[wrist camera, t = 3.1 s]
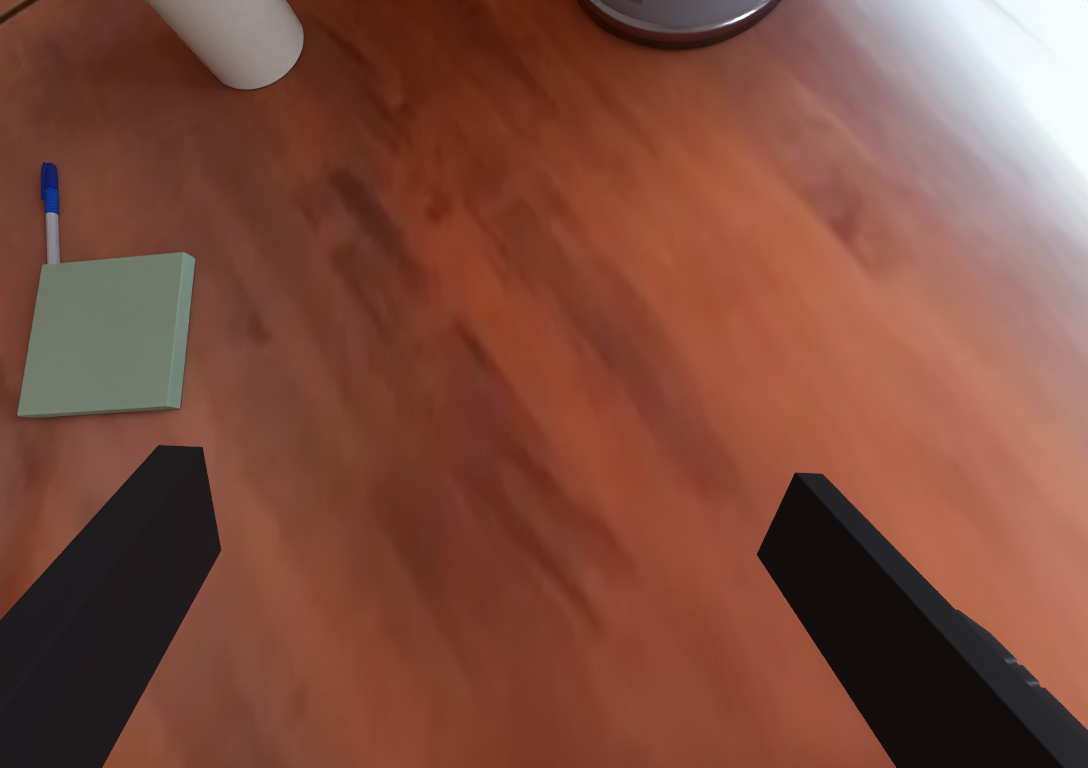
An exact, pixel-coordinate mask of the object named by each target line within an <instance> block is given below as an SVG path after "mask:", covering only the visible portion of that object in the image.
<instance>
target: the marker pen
mask: <svg viewBox="0 0 1088 768" xmlns="http://www.w3.org/2000/svg"><path fill="white" fill-rule="evenodd" d="M41 199H42V200H43V199H44V205H45V206H44V207H45V214H46V234H47V262H48V264H57V263H60V248H59V223H58V215H59V212H58V211H59V207H58V206H59V205H58V204H59V202H58V201H59V200H58V199H59V198H58V176H57V169H56V166H55V165H54V164H52V163H45V162H44V163H43V164H42V169H41Z"/></svg>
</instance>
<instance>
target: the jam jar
mask: <svg viewBox="0 0 1088 768" xmlns="http://www.w3.org/2000/svg"><path fill="white" fill-rule="evenodd" d="M145 1H146V2H147V3H148V4H149V6H150V7H151V8H152V9H153V10H154V11H155V12H156V13H157V14H158V15H159V16H160V17H161V18H162V20H163V21H164V22H165V23H166V24H167V25H168V26H169V27H170V28H171V29H172V30H173V31H174V32H175V34H176V35H177V36H178V37H179V38H180V39H181V40H182V41H183V42H184V43H185V44H186V45H187V47H188V48H189V49H190V50H191V51H192V52H193V53H194V54H195V55H196V56H197V57H198V58H199V59H200V61H201V62H202V63H203V64H204V65H205V66H206V67H207V68H208V69H209V70H210V71H211V72H212V73H213V75H214V76H215V77H216V78H217V79H218V80H219V81H221V82H222V83H223V84H225V85H227V86H229V87H232V88H236V89H243V90H250V89H257V88H261V87H265V86H267V85H269V84H272V83H274V82H275V81H277V80H279V79H280V78H281V77H283V76H284V75H285V74H286V73H287V72H288V71H289V70H290V69H291V68H292V67H293V66H294V64H295V63H296V61H297V60H298V58H299V56H300V54H301V51H302V48H303V42H304V33H303V28H302V25H301V22H300V21H299V19H298V17H297V16H296V14H295V12H294V11H293V9H292V8H291V6H290V5H289V3H288V1H287V0H145Z"/></svg>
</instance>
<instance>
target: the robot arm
mask: <svg viewBox="0 0 1088 768" xmlns="http://www.w3.org/2000/svg"><path fill="white" fill-rule="evenodd" d="M780 1H781V0H578V2H579V3H580V5H581V6H582V7H583V9H584V10H585V11H586V12H587V13H588V15H589V16H590V17H591V18H593V19H594V20H595V21H596V22H597V23H598V24H600V25H601V26H602V27H604V28H605V29H607V30H608V31H610V32H612V33H613V34H615V35H617V36H619V37H622V38H624V39H626V40H629V41H632V42H635V43H638V44H642V45H646V46H652V47H659V48H692V47H698V46H704V45H709V44H713V43H717V42H720V41H723V40H726V39H728V38H731V37H733V36H735V35H738V34H740V33H741V32H743V31H745V30H747V29H749V28H750V27H752V26H753V25H755V24H756V23H758V22H759V21H760V20H762V19H763V18H764V17H766V16H767V15H768V14H769V13H770V12H771V11H772V10H773V9H774V8H775V7H776V6H777V5H778V3H779V2H780ZM220 552H221V546H220V541H219V535H218V530H217V524H216V519H215V513H214V507H213V502H212V496H211V491H210V485H209V480H208V474H207V469H206V463H205V458H204V452H203V447H188V446H165V445H158V446H157V448H156V449H155V450H154V451H153V452H152V453H151V454H150V455H149V456H148V458H147V459H146V460H145V461H144V462H143V463H142V464H141V465H140V466H139V467H138V469H137V470H136V471H135V472H134V473H133V474H132V475H131V476H130V477H129V479H128V480H127V481H126V482H125V483H124V484H123V485H122V486H121V487H120V489H119V490H118V491H117V492H116V493H115V494H114V495H113V496H112V497H111V498H110V500H109V501H108V502H107V503H106V504H105V505H104V506H103V507H102V508H101V510H100V511H99V512H98V513H97V514H96V515H95V516H94V517H93V518H92V519H91V521H90V522H89V523H88V524H87V525H86V526H85V527H84V528H83V529H82V531H81V532H80V533H79V534H78V535H77V536H76V537H75V538H74V539H73V541H72V542H71V543H70V544H69V545H68V546H67V547H66V548H65V549H64V550H63V552H62V553H61V554H60V555H59V556H58V557H57V558H56V559H55V560H54V562H53V563H52V564H51V565H50V566H49V567H48V568H47V569H46V570H45V572H44V573H43V574H42V575H41V576H40V577H39V578H38V579H37V580H36V581H35V583H34V584H33V585H32V586H31V587H30V588H29V589H28V590H27V591H26V593H25V594H24V595H23V596H22V597H21V598H20V599H19V600H18V601H17V602H16V604H15V605H14V606H13V607H12V608H11V609H10V610H9V611H8V612H7V614H6V615H5V616H4V617H3V618H2V619H1V620H0V768H102V767H103V765H104V763H105V761H106V760H107V758H108V756H109V754H110V752H111V750H112V749H113V747H114V745H115V743H116V741H117V739H118V738H119V736H120V734H121V732H122V730H123V728H124V727H125V725H126V723H127V721H128V719H129V718H130V716H131V714H132V712H133V710H134V708H135V707H136V705H137V703H138V701H139V699H140V697H141V696H142V694H143V692H144V690H145V688H146V687H147V685H148V683H149V681H150V679H151V677H152V676H153V674H154V672H155V670H156V668H157V666H158V665H159V663H160V661H161V659H162V657H163V656H164V654H165V652H166V650H167V648H168V646H169V645H170V643H171V641H172V639H173V637H174V635H175V634H176V632H177V630H178V628H179V626H180V624H181V623H182V621H183V619H184V617H185V615H186V614H187V612H188V610H189V608H190V606H191V604H192V603H193V601H194V599H195V597H196V595H197V593H198V592H199V590H200V588H201V586H202V584H203V583H204V581H205V579H206V577H207V575H208V573H209V572H210V570H211V568H212V566H213V564H214V562H215V561H216V559H217V557H218V555H219V553H220ZM757 556H758V557H759V559H760V560H761V562H762V563H763V565H764V566H765V568H766V569H767V571H768V572H769V574H770V575H771V577H772V579H773V580H774V582H775V583H776V585H777V586H778V588H779V589H780V591H781V592H782V594H783V595H784V597H785V598H786V600H787V601H788V603H789V604H790V606H791V608H792V609H793V611H794V612H795V614H796V615H797V617H798V618H799V620H800V621H801V623H802V624H803V626H804V627H805V629H806V630H807V632H808V633H809V635H810V637H811V638H812V640H813V641H814V643H815V644H816V646H817V647H818V649H819V650H820V652H821V653H822V655H823V656H824V658H825V659H826V661H827V662H828V664H829V665H830V667H831V669H832V670H833V672H834V673H835V675H836V676H837V678H838V679H839V681H840V682H841V684H842V685H843V687H844V688H845V690H846V691H847V693H848V694H849V696H850V698H851V699H852V701H853V702H854V704H855V705H856V707H857V708H858V710H859V711H860V713H861V714H862V716H863V717H864V719H865V720H866V722H867V723H868V725H869V727H870V728H871V730H872V731H873V733H874V734H875V736H876V737H877V739H878V740H879V742H880V743H881V745H882V746H883V748H884V749H885V751H886V752H887V754H888V756H889V757H890V759H891V760H892V762H893V763H894V765H895V766H896V768H1088V730H1087V729H1086V728H1085V727H1084V726H1083V725H1082V724H1081V723H1080V722H1079V721H1078V720H1077V719H1076V718H1075V717H1074V716H1073V715H1072V714H1071V713H1070V712H1069V711H1068V710H1067V709H1066V708H1065V707H1064V706H1063V705H1062V704H1061V703H1060V702H1059V701H1058V700H1057V699H1056V698H1055V697H1054V696H1053V695H1052V694H1051V693H1050V692H1049V691H1048V690H1047V689H1046V688H1042V687H1040V685H1039V681H1038V680H1037V679H1036V678H1035V677H1034V676H1033V675H1032V674H1031V673H1030V672H1029V671H1028V670H1027V669H1026V668H1025V667H1024V666H1023V665H1019V664H1017V662H1016V660H1017V659H1016V658H1015V657H1014V656H1013V655H1012V654H1011V653H1010V652H1009V651H1008V650H1007V649H1006V648H1005V647H1004V646H1003V645H1002V644H1001V643H1000V642H999V641H998V640H997V639H996V638H995V637H994V636H993V635H992V634H991V633H990V632H988V631H987V630H985V629H984V628H983V627H981V626H980V625H979V624H977V623H976V622H974V621H973V620H972V619H970V618H969V617H968V616H966V615H965V614H963V613H962V612H961V611H959V610H955V609H954V608H953V607H952V606H951V605H950V604H949V603H948V602H947V601H946V600H945V599H944V598H943V597H942V596H941V594H940V593H939V592H938V591H937V590H936V589H935V588H934V587H933V586H932V585H931V584H930V583H929V582H928V581H927V580H926V579H925V578H924V577H923V576H922V575H921V574H920V573H919V572H918V571H917V570H916V569H915V568H914V567H913V566H912V565H911V564H910V563H909V562H908V561H907V560H906V559H905V558H904V557H903V556H902V555H901V554H900V553H899V552H898V551H897V550H896V549H895V548H894V546H893V545H892V544H891V543H890V542H889V541H888V540H887V539H886V538H885V537H884V536H883V535H882V534H881V533H880V532H879V531H878V530H877V529H876V528H875V527H874V526H873V525H872V524H871V523H870V522H869V521H868V520H867V519H866V518H865V517H864V516H863V515H862V514H861V513H860V512H859V511H858V510H857V509H856V508H855V507H854V506H853V505H852V504H851V503H850V502H849V501H848V499H847V498H846V497H845V496H844V495H843V494H842V493H841V492H840V491H839V490H838V489H837V488H836V487H835V486H834V485H833V484H832V483H831V482H830V481H829V480H828V479H827V478H826V477H825V476H824V475H823V474H814V473H795V474H794V476H793V478H792V480H791V483H790V485H789V487H788V489H787V491H786V493H785V495H784V497H783V500H782V502H781V504H780V506H779V508H778V510H777V512H776V515H775V517H774V519H773V521H772V523H771V525H770V527H769V529H768V532H767V534H766V536H765V538H764V540H763V542H762V544H761V547H760V549H759V551H758V553H757Z"/></svg>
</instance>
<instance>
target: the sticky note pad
mask: <svg viewBox="0 0 1088 768" xmlns="http://www.w3.org/2000/svg"><path fill="white" fill-rule="evenodd" d="M194 267H195V258H194V257H192V256H190V255H188V254H187V253H185V252H177V253H166V254H156V255H145V256H134V257H123V258H112V259H101V260H90V261H79V262H68V263H57V264H46V265H42V269H41V275H40V281H39V287H38V293H37V299H36V305H35V311H34V317H33V323H32V329H31V335H30V341H29V347H28V353H27V359H26V365H25V371H24V377H23V383H22V389H21V395H20V401H19V407H18V413H17V416H22V417H30V418H41V417H57V416H73V415H89V414H105V413H121V412H137V411H153V410H169V409H180V405H181V395H182V385H183V375H184V365H185V356H186V346H187V336H188V326H189V316H190V306H191V296H192V287H193V277H194Z"/></svg>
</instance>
